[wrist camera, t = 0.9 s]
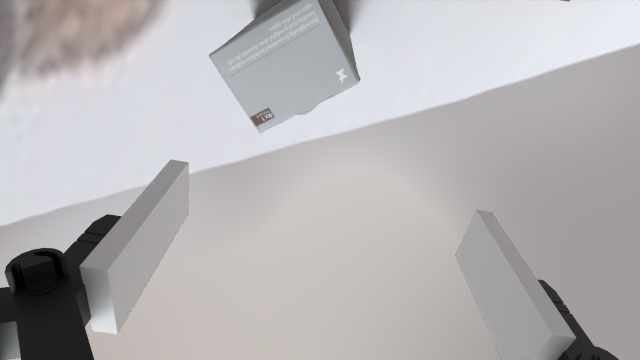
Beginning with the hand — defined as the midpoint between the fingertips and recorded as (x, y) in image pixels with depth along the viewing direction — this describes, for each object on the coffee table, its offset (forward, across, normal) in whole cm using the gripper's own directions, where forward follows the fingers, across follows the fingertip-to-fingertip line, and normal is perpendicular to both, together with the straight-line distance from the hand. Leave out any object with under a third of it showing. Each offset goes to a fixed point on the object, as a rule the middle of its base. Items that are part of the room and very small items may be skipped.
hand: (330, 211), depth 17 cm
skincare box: (+26, -4, +4) cm, 26 cm away
